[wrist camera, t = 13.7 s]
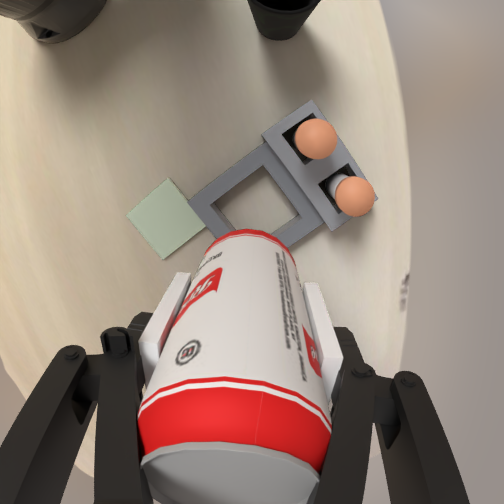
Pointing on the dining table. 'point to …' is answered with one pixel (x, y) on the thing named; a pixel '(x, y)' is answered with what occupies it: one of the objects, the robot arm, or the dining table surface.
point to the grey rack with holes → (283, 182)
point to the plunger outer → (351, 193)
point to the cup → (281, 16)
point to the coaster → (165, 219)
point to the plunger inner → (315, 138)
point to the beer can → (237, 385)
